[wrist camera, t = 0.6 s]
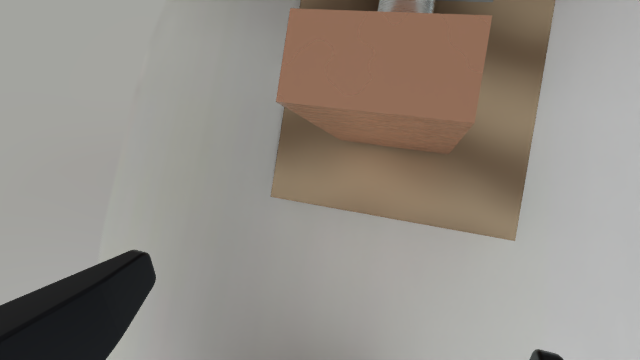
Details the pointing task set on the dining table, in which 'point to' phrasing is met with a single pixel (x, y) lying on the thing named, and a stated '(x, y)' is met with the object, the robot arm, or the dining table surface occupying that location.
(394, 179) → the bearing base
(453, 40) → the shaft
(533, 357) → the robot arm
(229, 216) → the dining table surface
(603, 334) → the dining table surface
